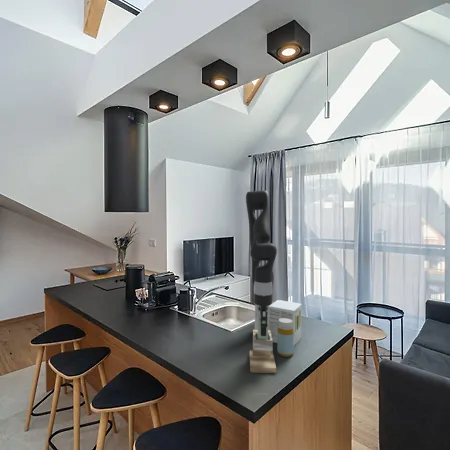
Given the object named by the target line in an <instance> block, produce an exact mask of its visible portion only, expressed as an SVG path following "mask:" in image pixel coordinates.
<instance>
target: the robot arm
mask: <svg viewBox="0 0 450 450" xmlns="http://www.w3.org/2000/svg"><path fill="white" fill-rule="evenodd" d="M245 203H246V204H245V205H246V211H247V212H246V213H247V218H248V227H249V230H248V231H249V244H250V251H249V254H250V257H251V276H252V278H251V280H252V284H253V303H254V330H258V314H259V321H260V326H261V336H266V327H267V326H268V325H267V321H268V306H270V305H271V304H273V303H274V301H273V300H274V299H273V297H274V296H273V295H274V282H275V281H274V280H275V279H274V276H275V275H274V272H273V268H274V264H275V260H276V256H277V252H278V249H277V247H276V245H275V244H274V243H269V242H270V240H271V231H270V210H271V209H270V203H271V202H270V195H269V193H268V191H267V190H253V191H252V190H251V191H248V192H246V194H245ZM254 211H261V212H260V214H259V215H258V217H257V216H256V214H255V212H254ZM264 261H266V263H265V264H263V265H260V263H261V262H264ZM262 321H265V324H262Z"/></svg>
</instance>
